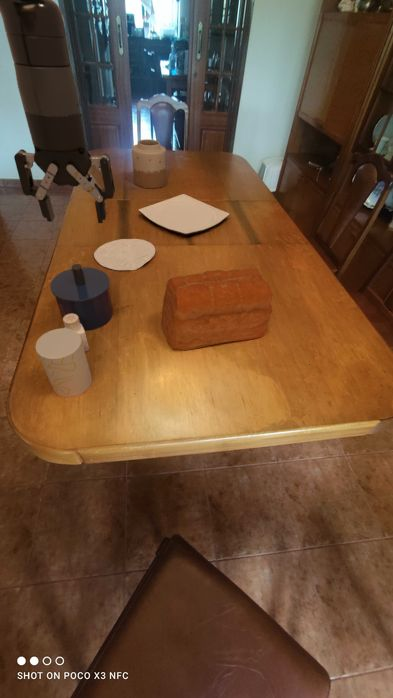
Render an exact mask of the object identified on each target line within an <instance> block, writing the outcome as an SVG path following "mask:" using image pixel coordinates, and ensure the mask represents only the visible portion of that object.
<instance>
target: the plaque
mask: <svg viewBox="0 0 393 698" xmlns="http://www.w3.org/2000/svg"><path fill="white" fill-rule="evenodd" d="M155 254H156V247H155V246H154V244H153V243H151V242H150V241H147V240H145V239H140V238H121V239H120V238H119V239H115V240H112V241H108V242H106V243H104V244H102V245H100V246H99V247H98V248H97V249H96V250H95V251H94V252H93V258H94V259H95V261H96V262H97V263H98V264H99V265H100V266H102V267H104V268H107V269H110V270H114V271H136V270H138V269H141V268H142V267H143V266H144V265H145V264H146V263H147V262H149V261H151V259H153V258H154V257H155Z"/></svg>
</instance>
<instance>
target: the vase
mask: <svg viewBox="0 0 393 698" xmlns="http://www.w3.org/2000/svg"><path fill="white" fill-rule="evenodd" d="M131 157H132V172H133V183H134V185H135V186H137V187H139V188H141V189H142V188H143V189H151V190H153V189H155V190H156V189H160V188H163V187H165V186H166V184H167V149H166V147H165V146H163V145H162V144H161V142H160V141H159V140H156V139H150V138H147V139H139V140H138V141H137V144H134V145H133V146H132V147H131Z"/></svg>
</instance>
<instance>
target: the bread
mask: <svg viewBox="0 0 393 698" xmlns="http://www.w3.org/2000/svg"><path fill="white" fill-rule="evenodd" d="M273 295H274V294H273V292H272V289H271V287H270V284H269V283H268V282H267V281H265V279H264V278H263V276H262V274H261V273H260V272H259V271H258V270H257V268H246V269H229V270H221V269H216V270H206V271H204V272H202V273H193V274H187V275H179V276H174V277H171V278H170V279H168V281H167V283H166V284H165V292H164V295H163V300H162V306H161V307H162V308H161V309H162V310H161V321H160V323H161V327H162V330H163V333H164V336H165V339H166V343H167V345H169V347H171V349H172V350H185V351H187V350H194V349H200V348H204V347H209V346H214V345H217V344H218V345H219V344H224V343H230V342H238V341H239V342H240V341H248V340H252V339H253V340H254V339H259V338H262V337H264V336H265V335H266V333H267V332H268V329H269V324H270V320H271V319H270V318H271V315H272V313H273V307H272V302H273V297H274V296H273Z"/></svg>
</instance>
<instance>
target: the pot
mask: <svg viewBox="0 0 393 698" xmlns="http://www.w3.org/2000/svg"><path fill="white" fill-rule="evenodd" d="M54 297H55V300H56V303H57V306H58V310H59V313H60V316H61V319H62V320H63V317H64V316H65V315H67V314H72V313H73V314H76V315H77V316H78V318H79V321H80V323H81V324H82V326H83V328H84V331H85V332H88V331H93V330H97V329H99V328H102V327H104V326H105V325H106V324H108V323H110V321H111V319H112V317H113V313H114V312H113V311H114V309H113V302H112V297H111V290H110V287H109V288H108V290H107V291H106V292H105V293H104V294H102V295H101V296H99V297H97V298H95V299H92V300H89V301H84V302H69V301H64V300H61V299H59V298H57V297H56V296H54Z"/></svg>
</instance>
